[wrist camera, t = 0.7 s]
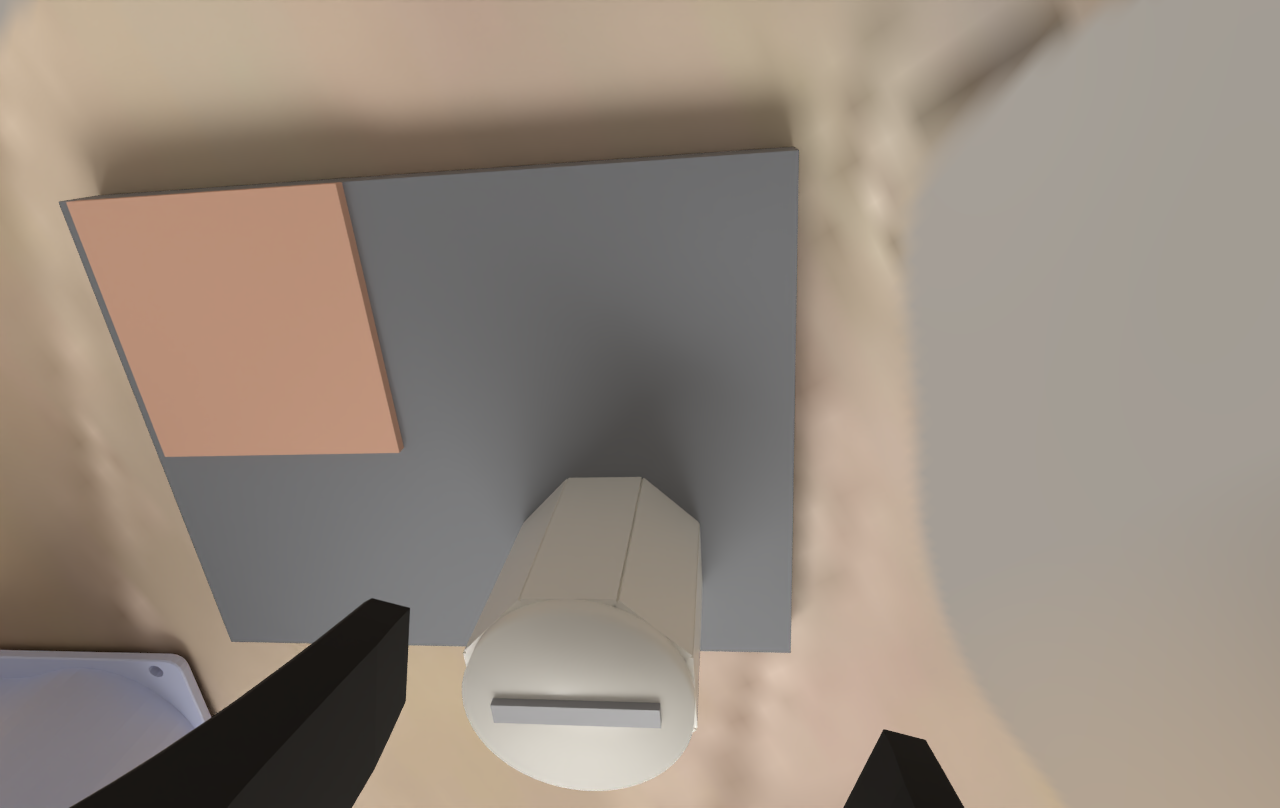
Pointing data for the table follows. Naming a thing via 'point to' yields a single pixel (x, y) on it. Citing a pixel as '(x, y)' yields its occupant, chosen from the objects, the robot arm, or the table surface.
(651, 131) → the table surface
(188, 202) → the terracotta pad
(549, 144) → the table surface
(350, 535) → the base board
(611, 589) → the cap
